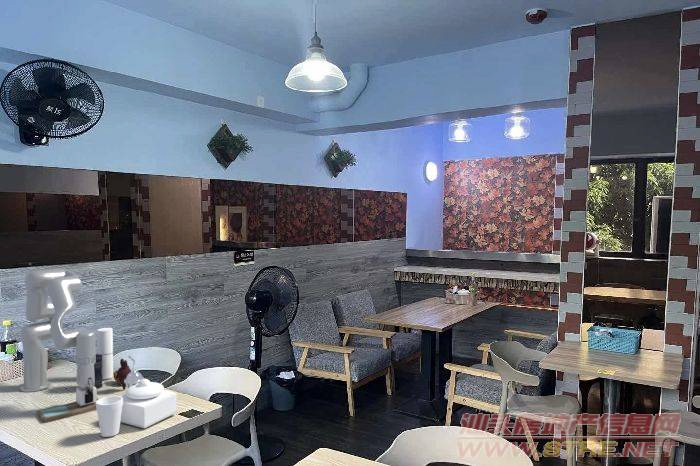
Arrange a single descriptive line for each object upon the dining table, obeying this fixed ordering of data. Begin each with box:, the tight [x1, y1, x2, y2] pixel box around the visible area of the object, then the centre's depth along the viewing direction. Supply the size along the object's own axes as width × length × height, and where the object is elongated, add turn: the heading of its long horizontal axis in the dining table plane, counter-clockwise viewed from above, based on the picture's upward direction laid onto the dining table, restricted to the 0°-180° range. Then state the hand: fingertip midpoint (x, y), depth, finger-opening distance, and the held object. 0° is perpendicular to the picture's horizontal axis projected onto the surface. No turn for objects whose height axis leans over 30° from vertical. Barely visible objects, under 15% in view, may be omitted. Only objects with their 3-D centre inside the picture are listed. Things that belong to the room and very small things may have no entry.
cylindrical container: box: [96, 327, 114, 380], centre depth 252 cm, size 7×7×25 cm
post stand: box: [36, 398, 99, 424], centre depth 209 cm, size 12×23×8 cm, turn 135°
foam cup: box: [95, 395, 123, 438], centre depth 188 cm, size 10×9×13 cm
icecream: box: [116, 358, 132, 391], centre depth 233 cm, size 7×7×15 cm
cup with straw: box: [124, 355, 145, 390], centre depth 219 cm, size 8×9×20 cm
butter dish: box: [120, 378, 178, 429], centre depth 204 cm, size 18×18×16 cm
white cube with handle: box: [75, 385, 98, 406], centre depth 213 cm, size 6×6×7 cm
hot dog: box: [113, 369, 122, 386], centre depth 244 cm, size 5×13×5 cm, turn 42°
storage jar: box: [87, 353, 104, 390], centre depth 237 cm, size 10×10×15 cm
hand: (86, 399), depth 213 cm, fingers closed on white cube with handle, 6 cm apart
